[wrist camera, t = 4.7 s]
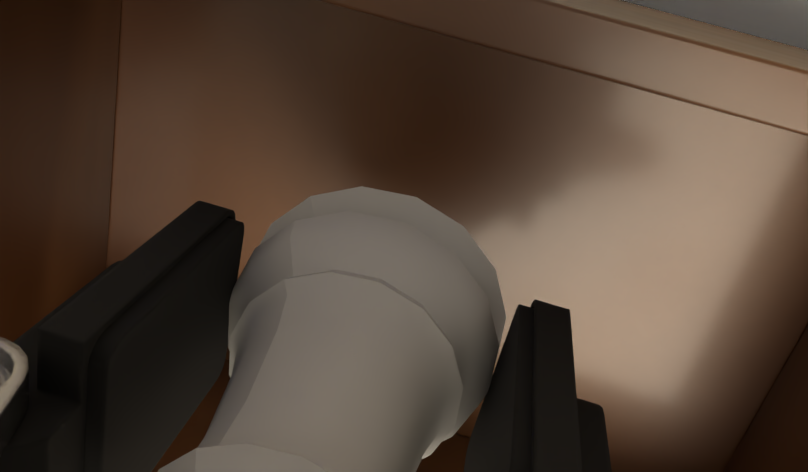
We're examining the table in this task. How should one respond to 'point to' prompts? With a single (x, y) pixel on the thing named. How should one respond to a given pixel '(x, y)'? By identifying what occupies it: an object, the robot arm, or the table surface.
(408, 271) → the rook chess piece
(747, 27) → the table surface
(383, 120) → the crate
